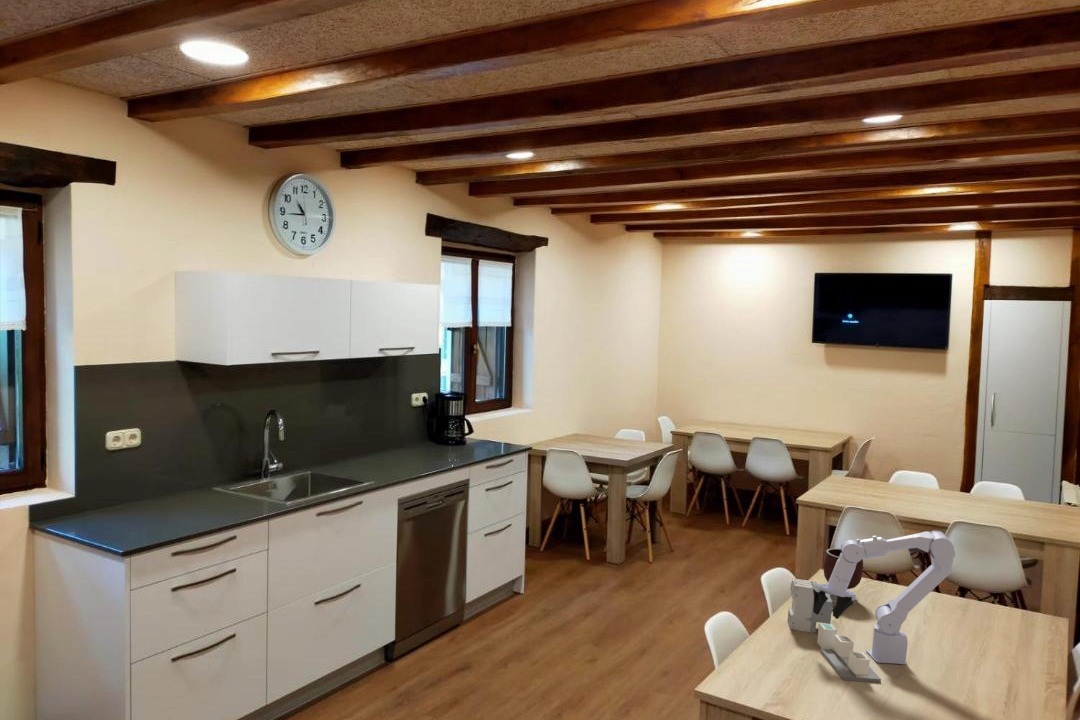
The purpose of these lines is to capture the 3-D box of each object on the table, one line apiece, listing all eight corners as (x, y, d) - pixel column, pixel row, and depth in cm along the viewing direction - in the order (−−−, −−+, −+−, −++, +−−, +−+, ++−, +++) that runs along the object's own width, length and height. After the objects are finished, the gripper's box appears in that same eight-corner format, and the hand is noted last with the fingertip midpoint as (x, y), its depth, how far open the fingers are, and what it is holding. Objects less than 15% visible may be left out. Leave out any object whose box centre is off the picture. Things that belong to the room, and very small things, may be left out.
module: (829, 643, 251) (831, 623, 251) (834, 649, 247) (836, 629, 246) (817, 642, 251) (819, 622, 251) (822, 648, 247) (824, 628, 246)
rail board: (855, 654, 244) (857, 635, 244) (880, 682, 226) (882, 661, 226) (820, 652, 244) (822, 632, 244) (843, 679, 226) (845, 658, 226)
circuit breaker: (834, 635, 258) (839, 591, 257) (789, 629, 261) (794, 585, 260) (830, 626, 265) (835, 584, 264) (787, 620, 268) (791, 578, 267)
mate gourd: (824, 602, 289) (829, 549, 287) (817, 589, 302) (822, 538, 301) (868, 607, 286) (873, 554, 285) (859, 594, 300) (864, 543, 298)
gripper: (852, 575, 252) (836, 612, 253) (815, 566, 248) (799, 604, 250) (865, 586, 245) (849, 624, 247) (827, 577, 241) (811, 616, 243)
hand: (825, 615), depth 248 cm, fingers open, 7 cm apart
